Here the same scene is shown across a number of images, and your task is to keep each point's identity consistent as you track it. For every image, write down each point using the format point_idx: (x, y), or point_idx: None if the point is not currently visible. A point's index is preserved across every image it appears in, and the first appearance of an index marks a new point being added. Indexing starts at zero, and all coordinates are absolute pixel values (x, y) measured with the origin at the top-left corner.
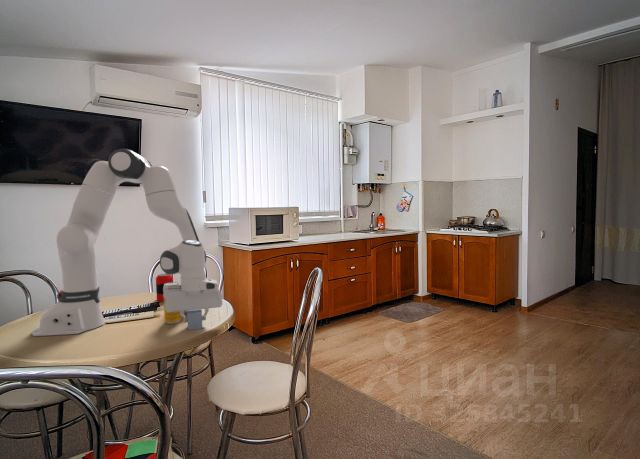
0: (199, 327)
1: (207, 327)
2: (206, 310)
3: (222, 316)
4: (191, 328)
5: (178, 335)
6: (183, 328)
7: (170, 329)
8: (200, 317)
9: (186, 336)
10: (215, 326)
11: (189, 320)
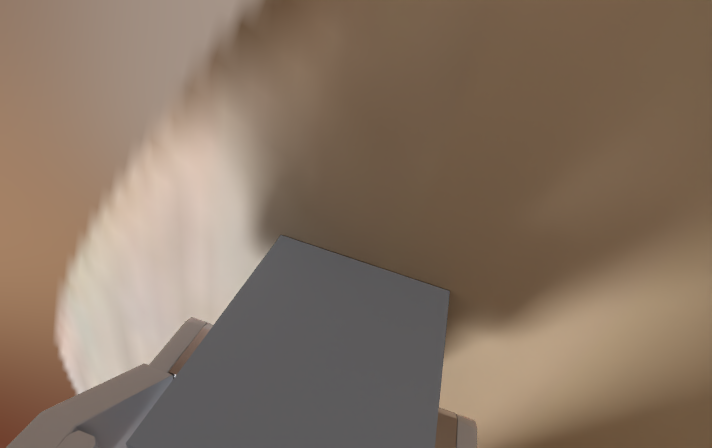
0: (309, 253)
1: (223, 215)
2: (59, 444)
3: (110, 366)
4: (405, 284)
5: (698, 161)
6: (478, 353)
7: (618, 415)
8: (220, 354)
9: (619, 4)
10: (137, 188)
11: (409, 391)
